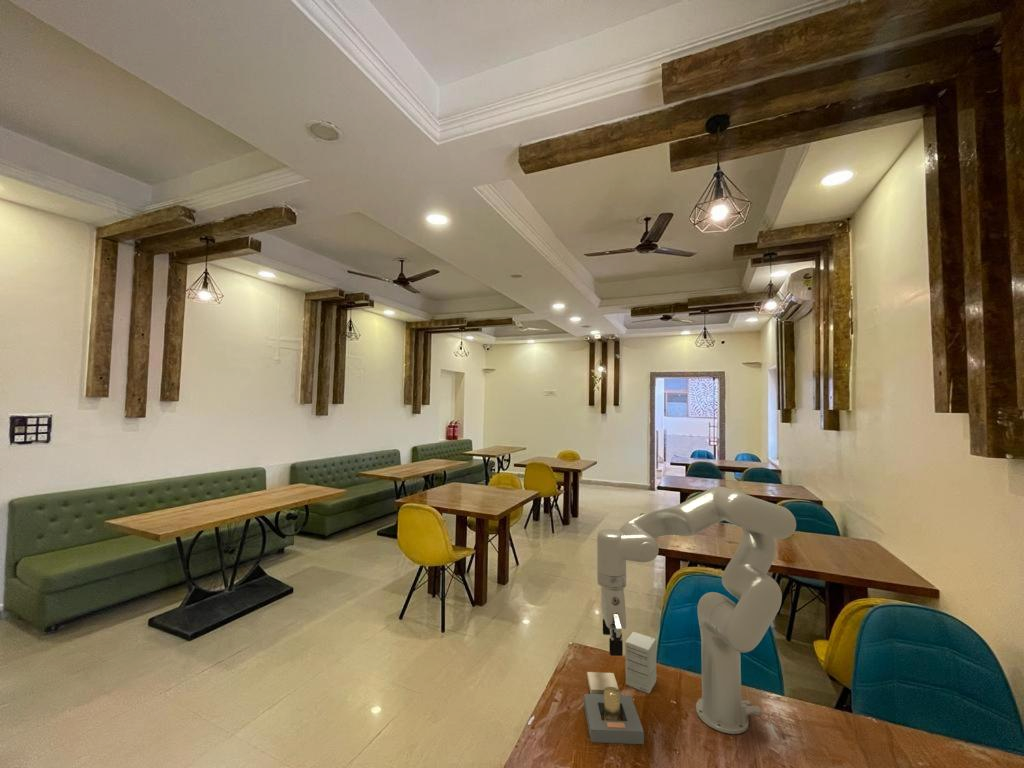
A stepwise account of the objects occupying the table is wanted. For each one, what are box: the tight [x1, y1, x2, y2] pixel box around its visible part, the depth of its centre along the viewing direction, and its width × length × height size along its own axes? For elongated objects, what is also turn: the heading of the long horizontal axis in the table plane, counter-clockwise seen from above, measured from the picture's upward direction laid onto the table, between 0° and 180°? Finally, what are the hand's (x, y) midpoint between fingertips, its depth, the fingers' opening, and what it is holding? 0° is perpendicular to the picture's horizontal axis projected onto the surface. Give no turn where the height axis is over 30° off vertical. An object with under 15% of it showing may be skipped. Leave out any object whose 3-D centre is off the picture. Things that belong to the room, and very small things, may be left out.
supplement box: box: [624, 631, 657, 694], centre depth 127 cm, size 7×7×13 cm
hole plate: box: [583, 693, 645, 745], centre depth 110 cm, size 13×13×3 cm
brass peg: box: [603, 687, 621, 721], centre depth 110 cm, size 4×4×8 cm
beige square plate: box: [586, 671, 620, 695], centre depth 124 cm, size 8×8×2 cm
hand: (612, 644), depth 111 cm, fingers open, 9 cm apart
